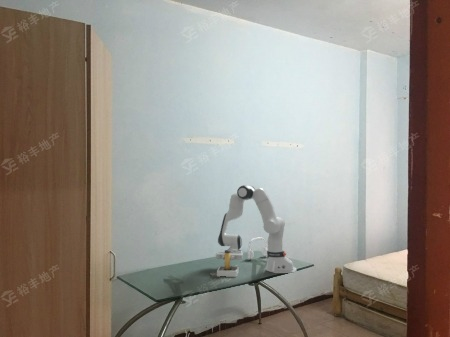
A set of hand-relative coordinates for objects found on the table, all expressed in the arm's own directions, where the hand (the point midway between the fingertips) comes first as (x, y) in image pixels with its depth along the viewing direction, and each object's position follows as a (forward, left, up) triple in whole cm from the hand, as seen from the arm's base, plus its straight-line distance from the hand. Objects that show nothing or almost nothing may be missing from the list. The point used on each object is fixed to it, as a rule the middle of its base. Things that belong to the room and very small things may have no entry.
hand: (227, 258), depth 244 cm
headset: (-19, -49, -12) cm, 54 cm away
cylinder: (0, -1, -9) cm, 9 cm away
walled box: (0, -1, -11) cm, 11 cm away
